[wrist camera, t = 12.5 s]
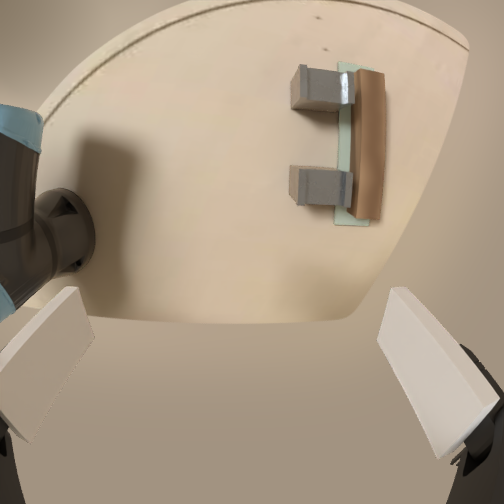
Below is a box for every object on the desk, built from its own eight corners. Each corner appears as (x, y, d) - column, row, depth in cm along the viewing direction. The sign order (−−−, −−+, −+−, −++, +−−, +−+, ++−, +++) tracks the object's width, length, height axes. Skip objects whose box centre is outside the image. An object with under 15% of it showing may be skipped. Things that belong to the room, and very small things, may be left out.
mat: (333, 223, 38) (334, 224, 37) (337, 62, 29) (338, 61, 29) (367, 225, 38) (368, 226, 37) (372, 69, 29) (374, 68, 29)
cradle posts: (288, 194, 36) (297, 205, 29) (290, 81, 31) (299, 64, 23) (331, 196, 36) (350, 207, 29) (334, 86, 31) (353, 71, 23)
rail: (346, 211, 37) (356, 218, 33) (350, 75, 30) (360, 68, 26) (368, 212, 37) (379, 219, 33) (372, 79, 30) (384, 73, 26)
